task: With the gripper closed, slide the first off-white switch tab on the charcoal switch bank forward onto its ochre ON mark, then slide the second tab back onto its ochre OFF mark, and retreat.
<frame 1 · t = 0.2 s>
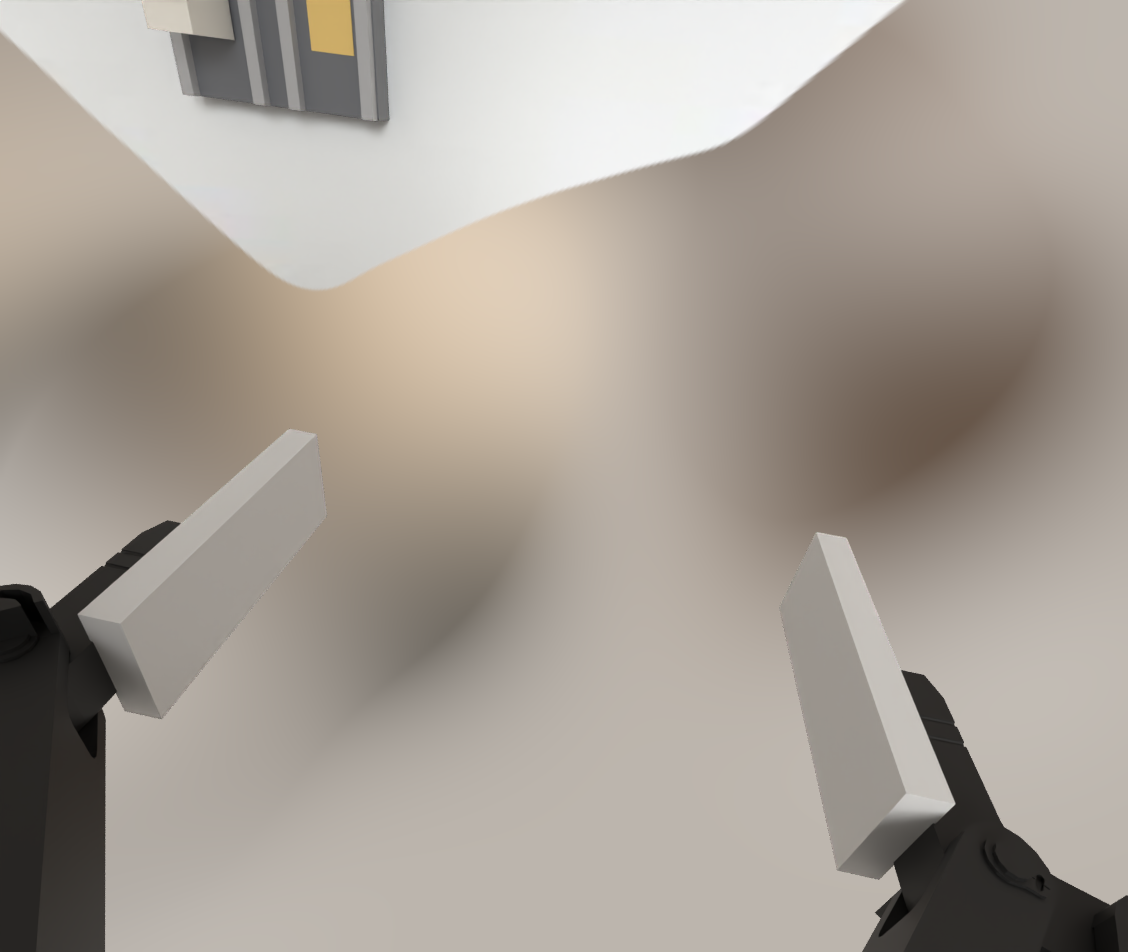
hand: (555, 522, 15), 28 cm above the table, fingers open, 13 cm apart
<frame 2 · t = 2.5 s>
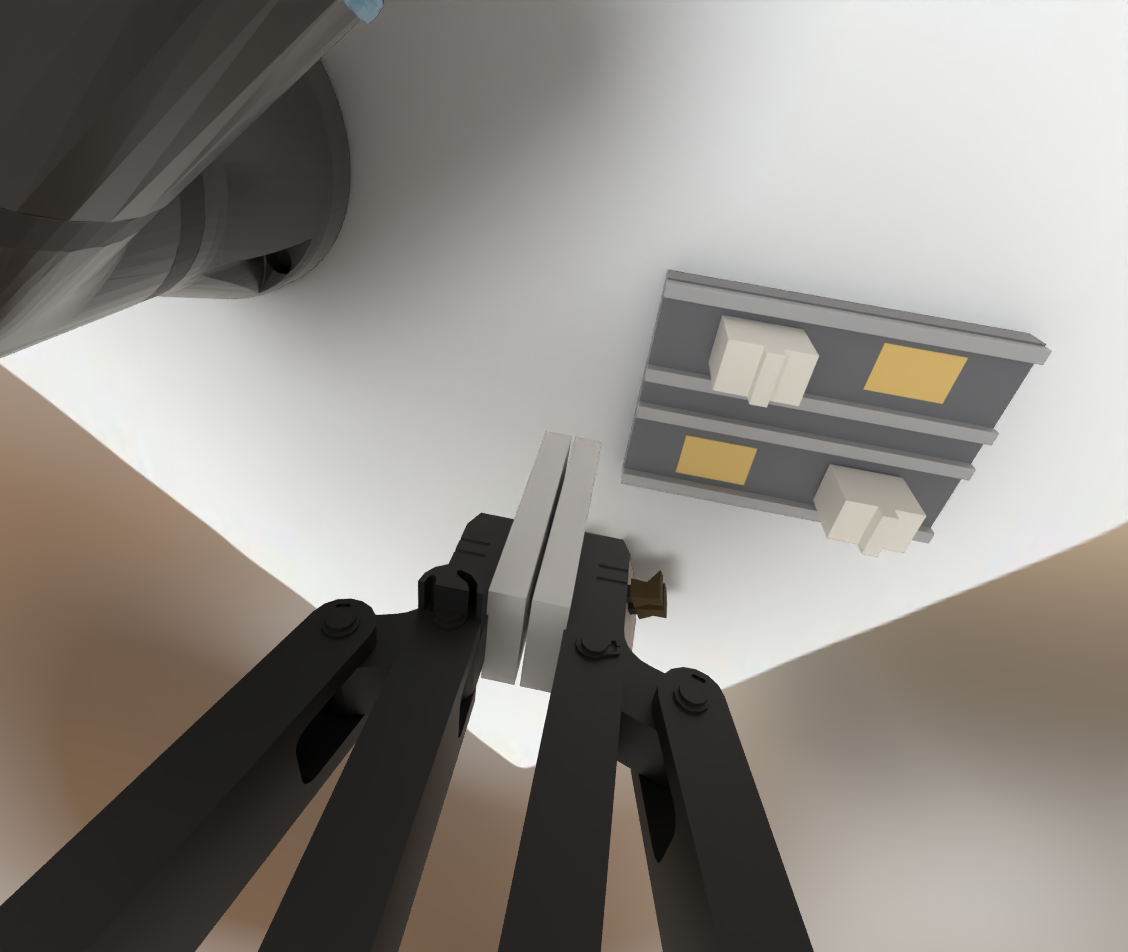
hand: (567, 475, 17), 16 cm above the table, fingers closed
tab two: (867, 511, 31), point 4 cm above the table, slide at 8.0 cm
tab one: (760, 362, 27), point 4 cm above the table, slide at 0.0 cm
figurine: (559, 558, 41), on the table
switch bank: (802, 407, 32), on the table
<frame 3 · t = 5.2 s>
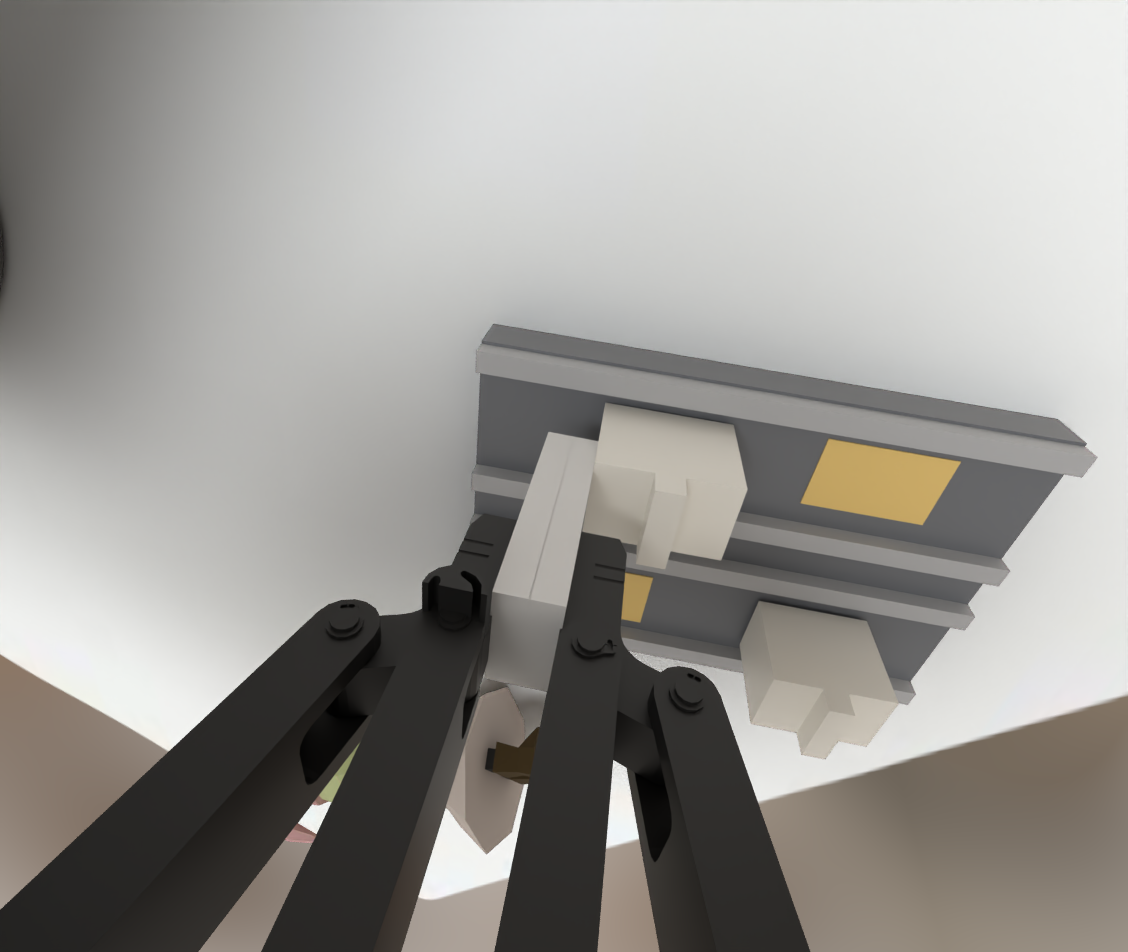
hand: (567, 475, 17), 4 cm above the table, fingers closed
tab two: (812, 680, 21), point 4 cm above the table, slide at 8.0 cm
tab one: (660, 485, 17), point 4 cm above the table, slide at 1.1 cm, touching gripper
figurine: (425, 694, 31), on the table
switch bank: (718, 516, 22), on the table
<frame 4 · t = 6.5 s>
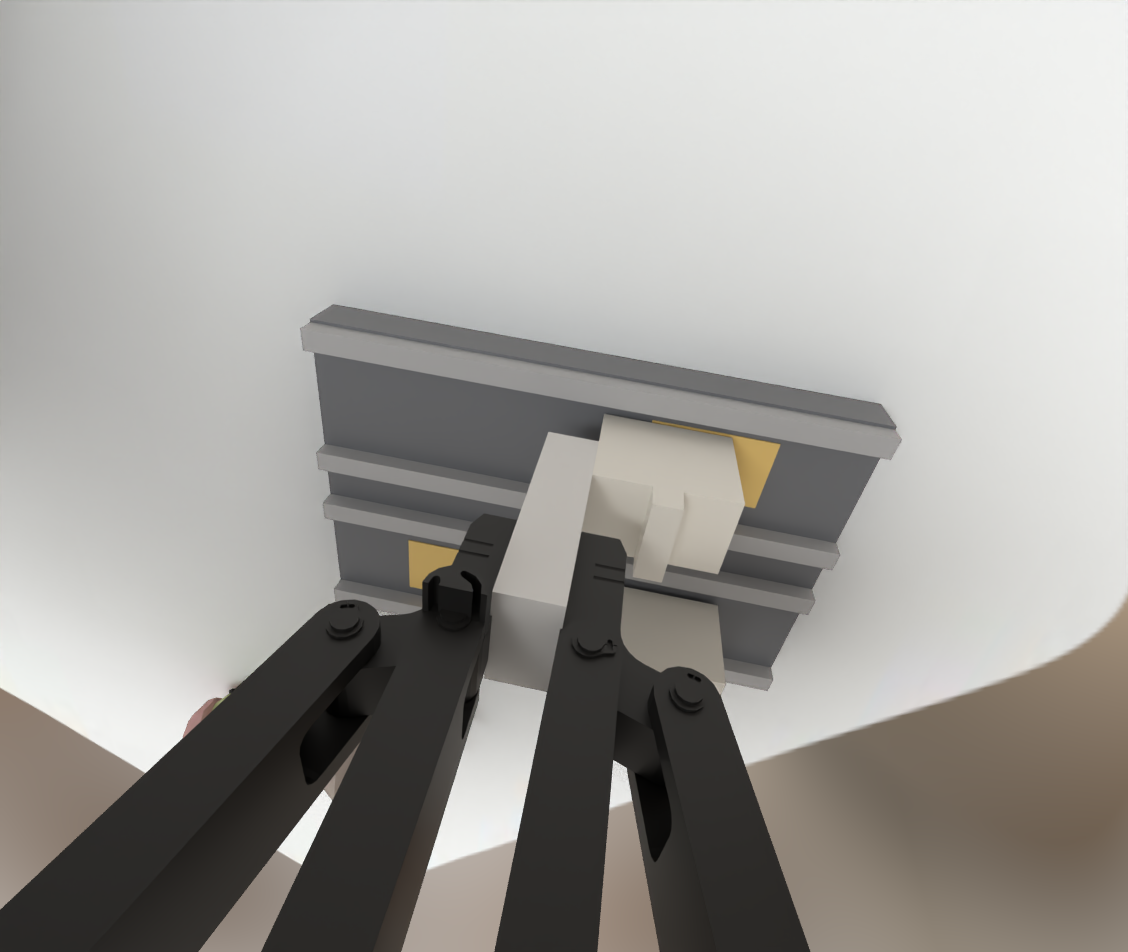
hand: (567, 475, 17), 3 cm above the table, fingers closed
tab two: (656, 662, 21), point 4 cm above the table, slide at 8.0 cm
tab one: (658, 497, 17), point 4 cm above the table, slide at 6.5 cm, touching gripper
figurine: (325, 682, 32), on the table
switch bank: (574, 500, 22), on the table
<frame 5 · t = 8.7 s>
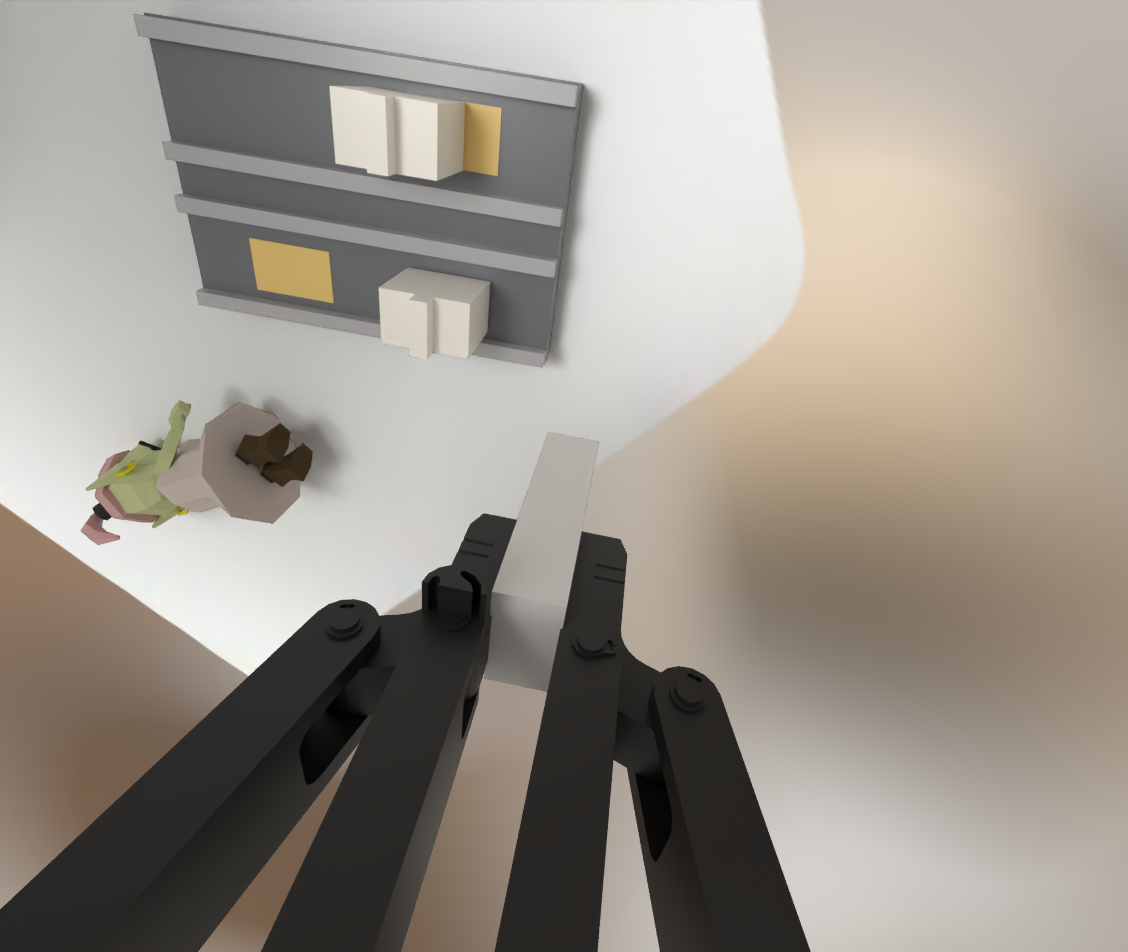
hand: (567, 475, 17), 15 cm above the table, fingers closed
tab two: (434, 314, 26), point 4 cm above the table, slide at 8.0 cm
tab one: (398, 132, 23), point 4 cm above the table, slide at 6.5 cm
figurine: (221, 438, 38), on the table
switch bank: (379, 203, 28), on the table
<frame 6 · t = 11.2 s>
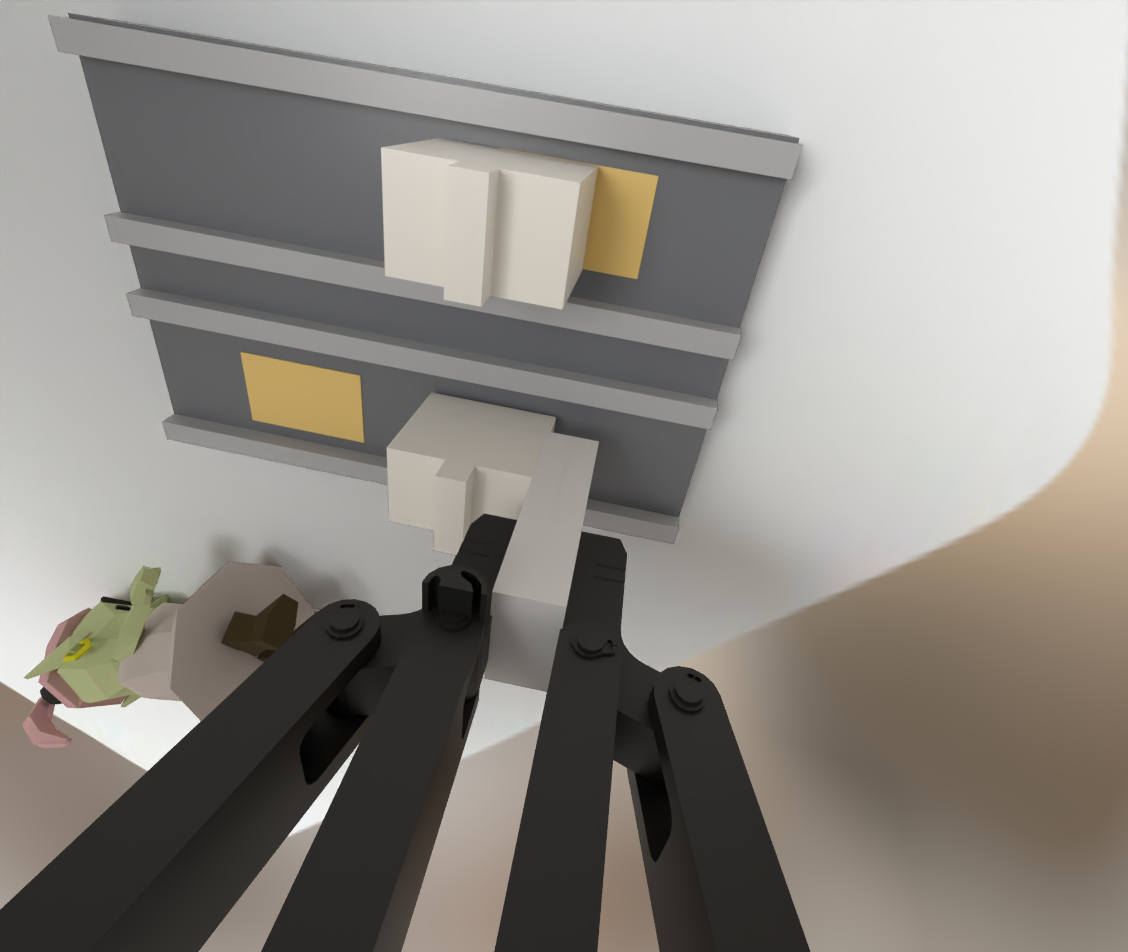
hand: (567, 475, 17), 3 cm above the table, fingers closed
tab two: (472, 474, 17), point 4 cm above the table, slide at 6.4 cm, touching gripper
tab one: (492, 221, 13), point 4 cm above the table, slide at 6.5 cm
figurine: (209, 588, 28), on the table
switch bank: (438, 303, 18), on the table
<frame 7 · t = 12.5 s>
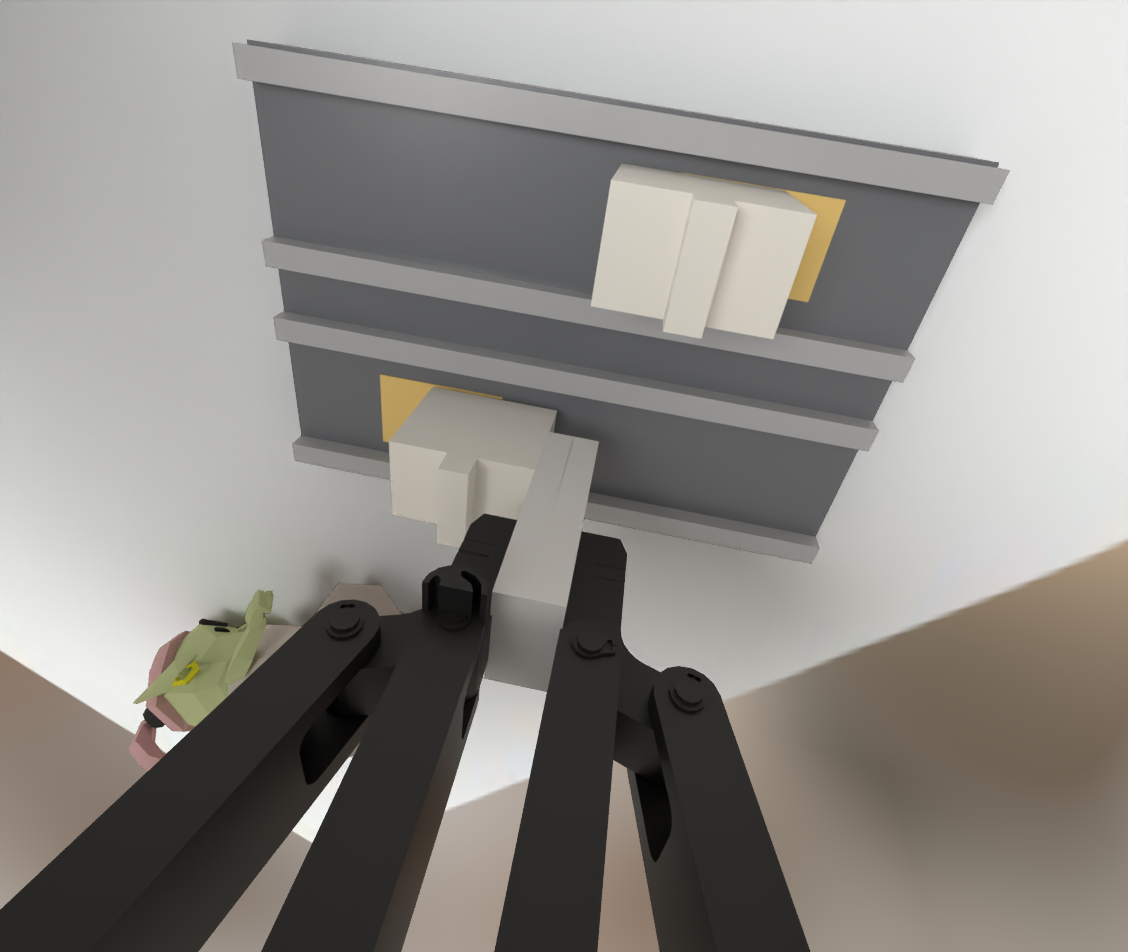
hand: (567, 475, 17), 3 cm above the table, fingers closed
tab two: (473, 467, 17), point 4 cm above the table, slide at 1.8 cm, touching gripper
tab one: (693, 249, 13), point 4 cm above the table, slide at 6.5 cm
figurine: (305, 608, 28), on the table
switch bank: (581, 324, 18), on the table
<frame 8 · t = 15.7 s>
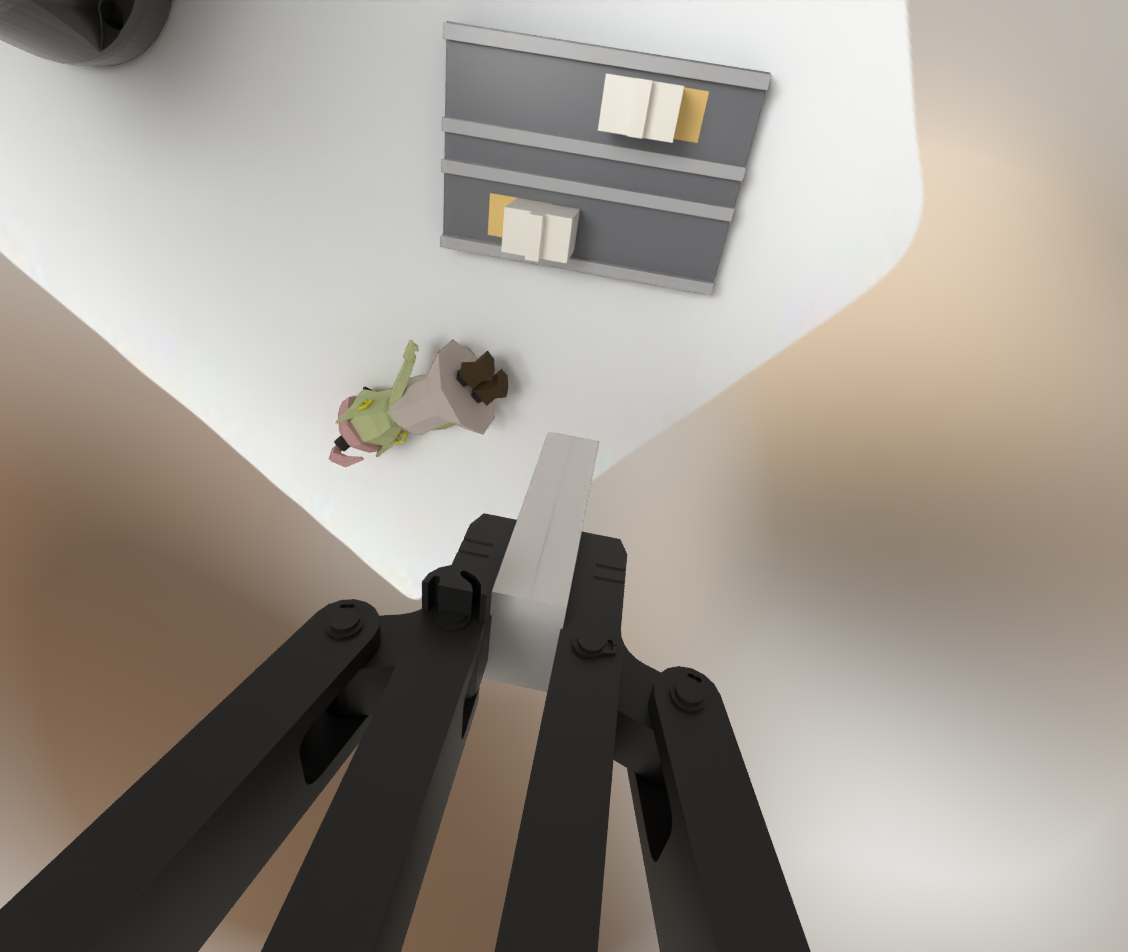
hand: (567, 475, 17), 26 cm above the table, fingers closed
tab two: (540, 231, 35), point 4 cm above the table, slide at 1.8 cm
tab one: (640, 108, 31), point 4 cm above the table, slide at 6.5 cm
figurine: (424, 380, 47), on the table
switch bank: (591, 166, 36), on the table
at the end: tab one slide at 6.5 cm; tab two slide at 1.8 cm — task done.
